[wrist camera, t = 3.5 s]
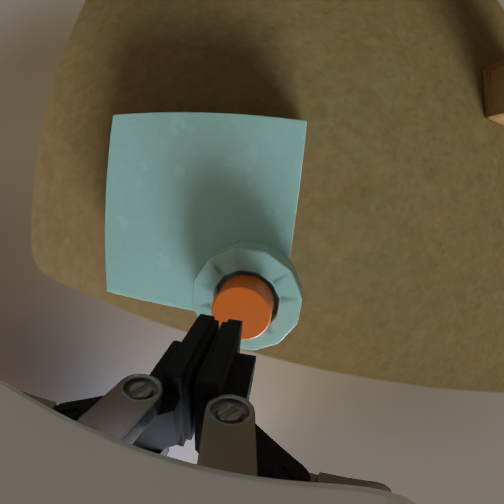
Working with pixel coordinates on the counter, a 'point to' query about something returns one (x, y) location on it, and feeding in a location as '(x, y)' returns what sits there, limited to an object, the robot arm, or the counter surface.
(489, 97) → the open wooden box
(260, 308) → the button
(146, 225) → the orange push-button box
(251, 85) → the counter surface
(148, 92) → the counter surface
